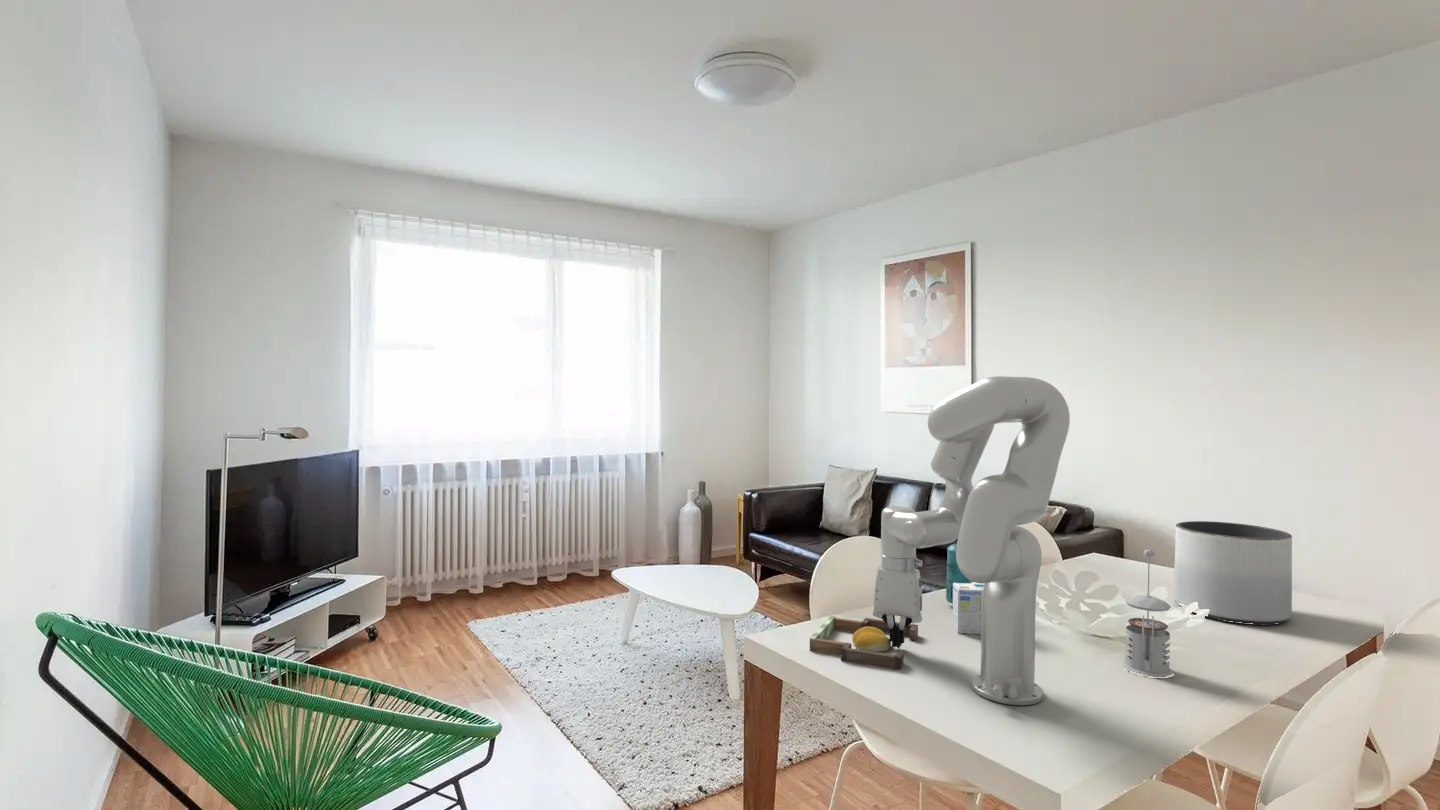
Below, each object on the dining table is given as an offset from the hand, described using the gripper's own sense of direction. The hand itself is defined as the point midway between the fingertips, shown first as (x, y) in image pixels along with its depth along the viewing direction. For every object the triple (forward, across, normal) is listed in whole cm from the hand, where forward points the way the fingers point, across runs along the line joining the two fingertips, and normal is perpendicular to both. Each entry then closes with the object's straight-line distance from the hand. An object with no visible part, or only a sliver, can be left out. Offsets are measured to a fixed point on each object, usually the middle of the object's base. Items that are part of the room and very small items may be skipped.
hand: (896, 645), depth 158 cm
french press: (+1, -49, -10) cm, 50 cm away
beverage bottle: (+1, -9, -40) cm, 41 cm away
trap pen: (+1, +7, 0) cm, 7 cm away
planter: (+1, -75, -68) cm, 101 cm away
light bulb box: (+1, -15, -22) cm, 27 cm away
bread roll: (+1, +6, 0) cm, 6 cm away
